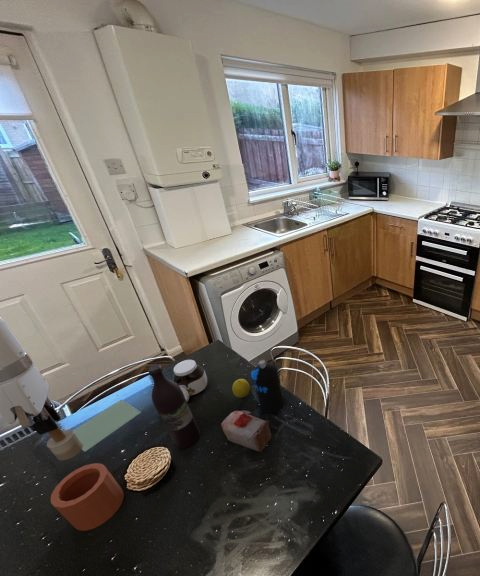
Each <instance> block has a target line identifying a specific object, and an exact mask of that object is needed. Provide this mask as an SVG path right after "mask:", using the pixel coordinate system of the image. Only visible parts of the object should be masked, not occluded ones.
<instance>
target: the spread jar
mask: <svg viewBox="0 0 480 576" xmlns="http://www.w3.org/2000/svg"><path fill="white" fill-rule="evenodd" d="M171 381H173V382H175V383H177V384H178V386H179V387H180V388H181V390H182V392H183V394H184V396H185V399H186V401H187V402H188V401H189V399H190V398H192V397H196V396H198V395H200V394H201V393H203V392H204V390H205V389H206V388H207V386H208V376H207V373H206V370H205V368H204V367H203V366H202V365H201V364H197V362H196V360H193V359H185V360H182V361H180V362H178V363H177V364H175V366H174V367H173V375H172V378H171Z"/></svg>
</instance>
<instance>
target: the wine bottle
mask: <svg viewBox="0 0 480 576" xmlns="http://www.w3.org/2000/svg"><path fill="white" fill-rule="evenodd" d="M148 374H149V376H151V378H152V381H153V386H152V389H151V401H152V404H153V406H154V408H155V409H156V411H157V414H158V416H159V418H160V419H161V421H162V423H163V426H164V427H165V429H166V431H167V433H168V434H169V436H170V439H171V440H172V442H173V445H174V446H175V447H176V448H178V449H179V450H181V449H183V450H184V449H188V448H190V447H191V446H193V445H195V444H196V443H197V441H198V440H199V439H200V437H201V431H200V429H199V426H198V424H197V421H196V419H195V417H194V415H193V413H192V410H191V408H190V406H189V403H188V401H186V399H185V396H184V394H183V392H182V390H181V388H180V387H179V386H178V384H177V383H175V382H173V381H172V379H169V378H167V377H166V375H165V374H164V372H163V368H162V366H161V365H160V364H154V365H152V366H150V367H149V368H148Z"/></svg>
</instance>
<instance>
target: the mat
mask: <svg viewBox="0 0 480 576" xmlns="http://www.w3.org/2000/svg"><path fill="white" fill-rule="evenodd" d="M141 413H142V412H141V411H140V410H138V409H137V408H135V407H133V406H132V405H131V404H129V403H128V402H127V401H124V400H123V399H120V400H118V401H117V402H115V403H114V404H112V405H111V406H108V407H107V408H106V409H104V410H103V411H101V412H100V413H98V414H97V415H95V416H94V417H91V418H90V419H89V420H87V421H86V422H84V423H82V424H81V425H79V426H77V427H76V428H75V429H72V430H73V431H74V433H75V434H76V436H77V437H78V438H79V440H80V441H81V442H82V444H83V447H82V449H81V450H82V451H83V452H84V453H86V452H87V451H88V450H90V449H91V448H93V447H94V446H96V445H97V444H99V443H100V442H101V441H103V440H105V439H106V438H107V437H109V436H110V435H111V434H113V433H114V432H115V431H117V430H118V429H120V428H121V427H123V426H124V425H126V424H127V423H128V422H129V421H131V420H133V419H134V418H135V417H137V416H138V415H140V414H141Z"/></svg>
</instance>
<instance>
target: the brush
mask: <svg viewBox="0 0 480 576" xmlns="http://www.w3.org/2000/svg"><path fill="white" fill-rule="evenodd" d="M42 410H43V411H44V412H45V413H46V415H47V416H51V415H50V414H49V413H48V411H47V410H46V409H45V407H43V408H42ZM37 416H39V415H37ZM52 419H53V418H52ZM53 420H54V419H53ZM55 423H56V424H57V425H58V423H57V421H56V422H55ZM73 430H74V429H65V430H62V428H61V427H60V426H59V425H58V428H57V429H56V430H53V431H50V432H47V434H48V435H49V436H50V438H49V439H48V440H47V442H46V447H47V448H48V449H49V451H50V453H52V454H53V455H54V457H55V458H56V459H57V460H58V461H67V460H69V459H71V458H73V457H75V456H76V455H77V454H79V453H80V452H81V450H82V447H83V444H82V442H81V441H80V440H79V438H78V437H77V436H76V434H75V433H74V431H73Z"/></svg>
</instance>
